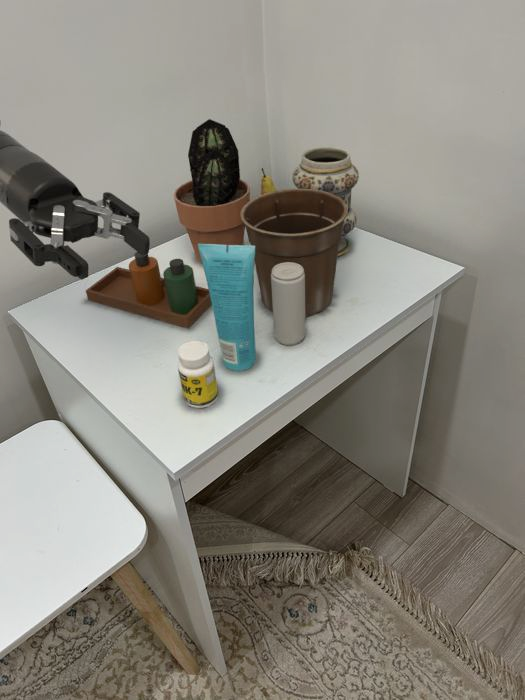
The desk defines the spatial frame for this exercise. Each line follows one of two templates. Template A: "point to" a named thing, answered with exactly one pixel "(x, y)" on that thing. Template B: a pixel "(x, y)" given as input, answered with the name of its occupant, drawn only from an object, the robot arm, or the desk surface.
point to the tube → (232, 300)
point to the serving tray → (122, 296)
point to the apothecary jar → (330, 180)
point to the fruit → (267, 184)
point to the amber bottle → (146, 279)
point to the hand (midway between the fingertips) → (117, 260)
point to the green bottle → (180, 287)
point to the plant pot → (296, 240)
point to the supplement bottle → (197, 374)
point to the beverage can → (288, 302)
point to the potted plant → (213, 189)
